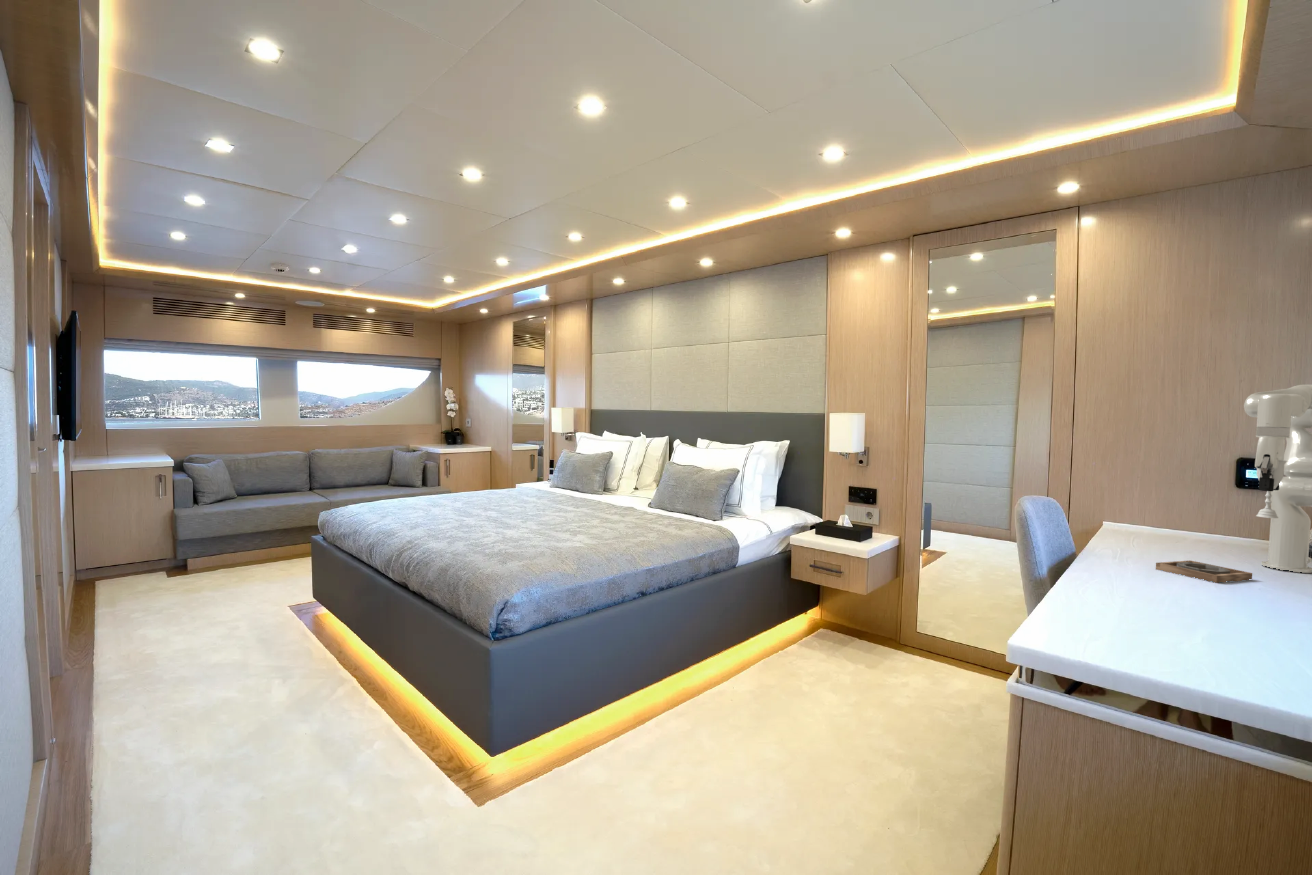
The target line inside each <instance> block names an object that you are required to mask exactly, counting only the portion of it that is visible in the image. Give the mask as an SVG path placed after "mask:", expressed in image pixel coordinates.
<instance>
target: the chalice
mask: <svg viewBox="0 0 1312 875" xmlns="http://www.w3.org/2000/svg"><path fill="white" fill-rule="evenodd" d="M1286 462H1287V461H1279V465H1278V468H1277V469H1274V474H1273V479H1274V489H1276V487H1277V486H1278V485H1279V483H1280V482H1281V480H1282V478H1283V477H1285V475H1284V464H1285V463H1286ZM1261 465H1262V463H1261ZM1261 465H1260V466H1258V468H1256V476H1257V479H1258V480H1259V479H1260V472H1261ZM1268 468H1272V467H1270V466H1268ZM1270 472H1271V471H1270ZM1264 496H1265V500H1264V502H1265V506H1264V508H1261V509H1260V510H1258V513H1257V514H1256V515H1255V517H1258V518H1267V519H1271V518H1278V517H1277V514H1276V513H1275V511H1274V510H1272V509H1271V503H1272V501H1271V499H1270V498H1271V497H1272V495H1271V491H1266V494H1265V495H1264Z"/></svg>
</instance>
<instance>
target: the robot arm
mask: <svg viewBox="0 0 1312 875" xmlns="http://www.w3.org/2000/svg"><path fill="white" fill-rule="evenodd" d="M1243 409H1244V413H1245V414H1246V416H1249V417H1250V418H1256V429H1255V430H1256V431H1255V438H1258V440H1257V444H1256V445H1257V446H1256V453H1255V460H1254V467H1255V468H1256V469H1257V468H1258V466H1260V465H1261V463H1262V465H1261V472H1260V479H1258V481H1259V482H1258V490H1259V491H1261V492H1262V491H1263V492H1267V491H1271V495H1272V497H1271V498H1270V499H1271V501H1272V503H1271V504H1270V508H1271V509H1272V510H1274V511H1275V513H1276V514H1277V517H1278V518H1270V523H1269V524H1270V525H1269V538H1268V551H1267V560H1264V561H1261V564H1262V565H1263V567H1265V566H1267V567H1266V568H1268V567H1270V568H1269V569H1273V568H1276V569H1275V570H1278V569H1280V571H1283V570H1289V571H1288V572H1290V571H1293V572H1292V573H1300V572H1302V573H1301V574H1312V567H1310V566H1308V565H1309V564H1311V563H1312V558H1311V557H1309V552H1310V551H1309V550H1310V538H1311V537H1310V536H1311V523H1312V521H1311V518H1310V516H1309V514H1308V513H1307V512H1306V511H1305V510H1304V509H1303V508H1302V507H1309V508H1310V507H1311V508H1312V432H1310V431H1309V430H1307V429H1312V384H1297V385H1294V386H1291V387H1288V388H1281V389H1275V390H1267V391H1259V392H1254V393H1251V394H1249V395H1248V396H1247V397H1246V399H1245V401H1244V403H1243ZM1279 461H1287V462H1286V463H1285V464H1284V477H1283V478H1282V480H1281V482H1280V483H1279V485H1278V486H1277V487H1276V489H1274V479H1273V474H1274V469H1277V468H1278V465H1279ZM1268 466H1270V467H1272V468H1268ZM1270 471H1271V472H1270ZM1262 565H1261V566H1262Z"/></svg>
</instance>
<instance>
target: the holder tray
mask: <svg viewBox="0 0 1312 875" xmlns="http://www.w3.org/2000/svg"><path fill="white" fill-rule="evenodd" d="M1155 570H1158V571H1161V570H1163V571H1162V572H1166V573H1170V572H1172V573H1171V574H1174V573H1175V575H1179V574H1182V575H1181V576H1183V575H1185V576H1184V577H1189V578H1192V577H1195V578H1194V579H1196V578H1198V579H1197V580H1201V579H1204V580H1203V581H1205V580H1207V581H1206V582H1210V581H1213V582H1212V583H1214V582H1215V584H1220V583H1219V582H1223V583H1227V582H1226V581H1235V582H1243V581H1242V580H1246V581H1250V580H1249V579H1252V580H1253V572H1249V571H1244V570H1239V569H1235V568H1234V569H1233V568H1230V567H1224V566H1220V565H1214V564H1209V563H1204V562H1200V561H1196V560H1195V561H1194V560H1178V561H1177V560H1176V561H1175V560H1174V561H1163V562H1162V561H1160V562H1156V563H1155Z"/></svg>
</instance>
